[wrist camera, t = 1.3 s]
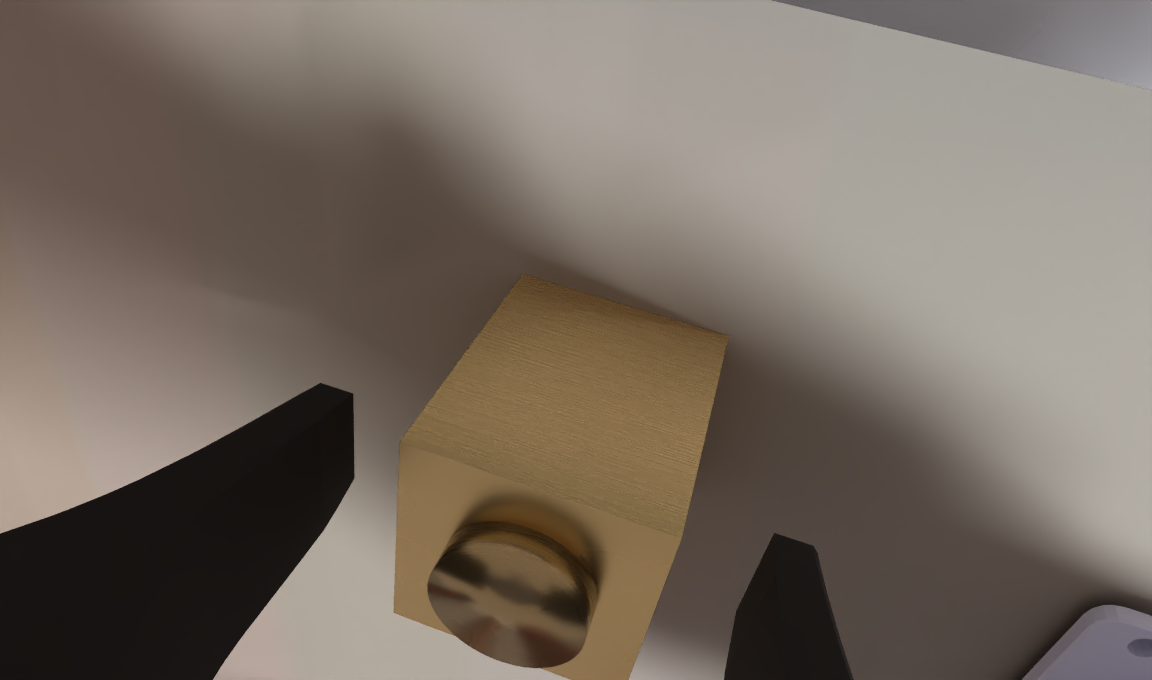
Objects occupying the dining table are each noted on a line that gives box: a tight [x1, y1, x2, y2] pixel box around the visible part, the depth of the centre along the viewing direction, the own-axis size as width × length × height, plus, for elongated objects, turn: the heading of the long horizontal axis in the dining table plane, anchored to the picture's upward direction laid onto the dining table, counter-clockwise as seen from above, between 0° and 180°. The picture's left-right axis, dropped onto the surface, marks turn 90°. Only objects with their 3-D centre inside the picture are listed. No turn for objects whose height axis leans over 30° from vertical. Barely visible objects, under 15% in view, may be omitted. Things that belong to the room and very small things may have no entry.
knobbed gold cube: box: [394, 274, 729, 680], centre depth 13 cm, size 4×4×6 cm
